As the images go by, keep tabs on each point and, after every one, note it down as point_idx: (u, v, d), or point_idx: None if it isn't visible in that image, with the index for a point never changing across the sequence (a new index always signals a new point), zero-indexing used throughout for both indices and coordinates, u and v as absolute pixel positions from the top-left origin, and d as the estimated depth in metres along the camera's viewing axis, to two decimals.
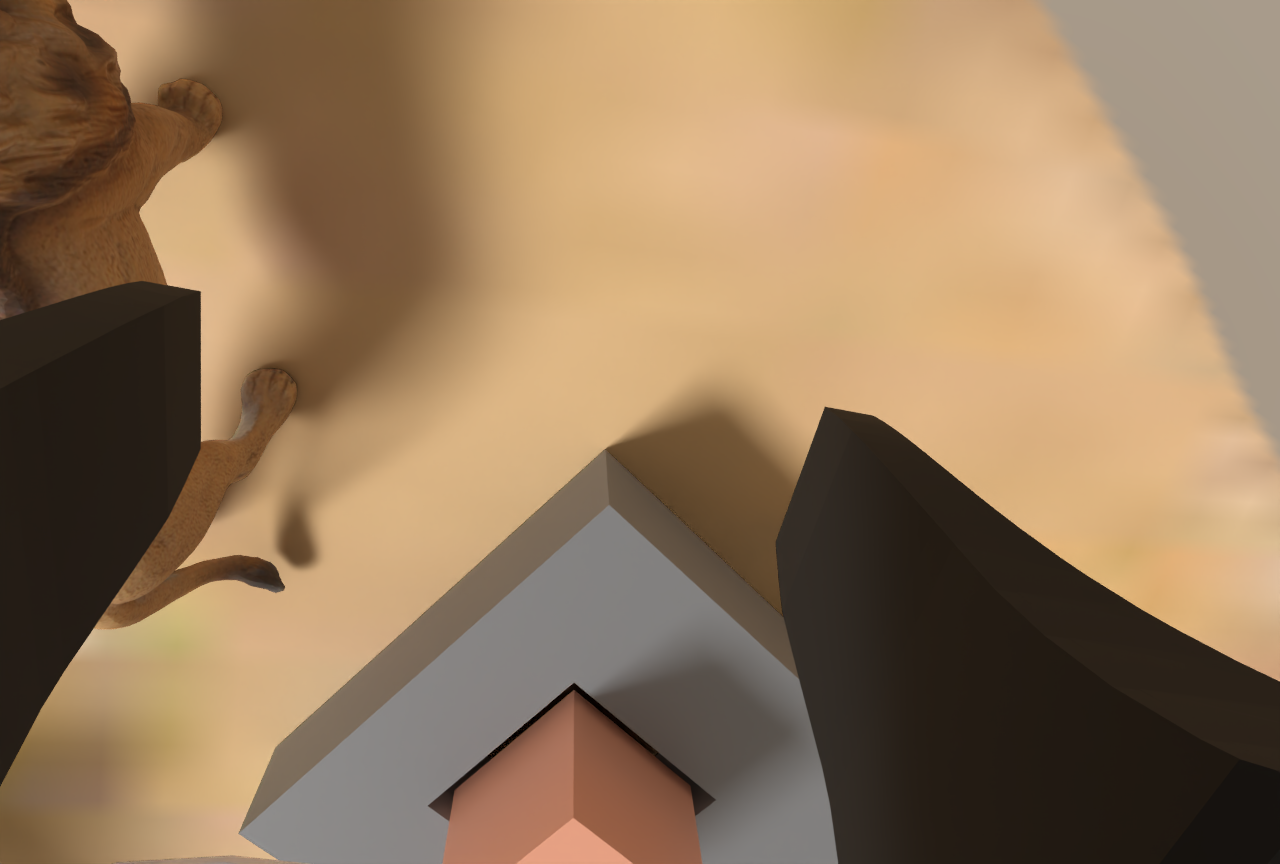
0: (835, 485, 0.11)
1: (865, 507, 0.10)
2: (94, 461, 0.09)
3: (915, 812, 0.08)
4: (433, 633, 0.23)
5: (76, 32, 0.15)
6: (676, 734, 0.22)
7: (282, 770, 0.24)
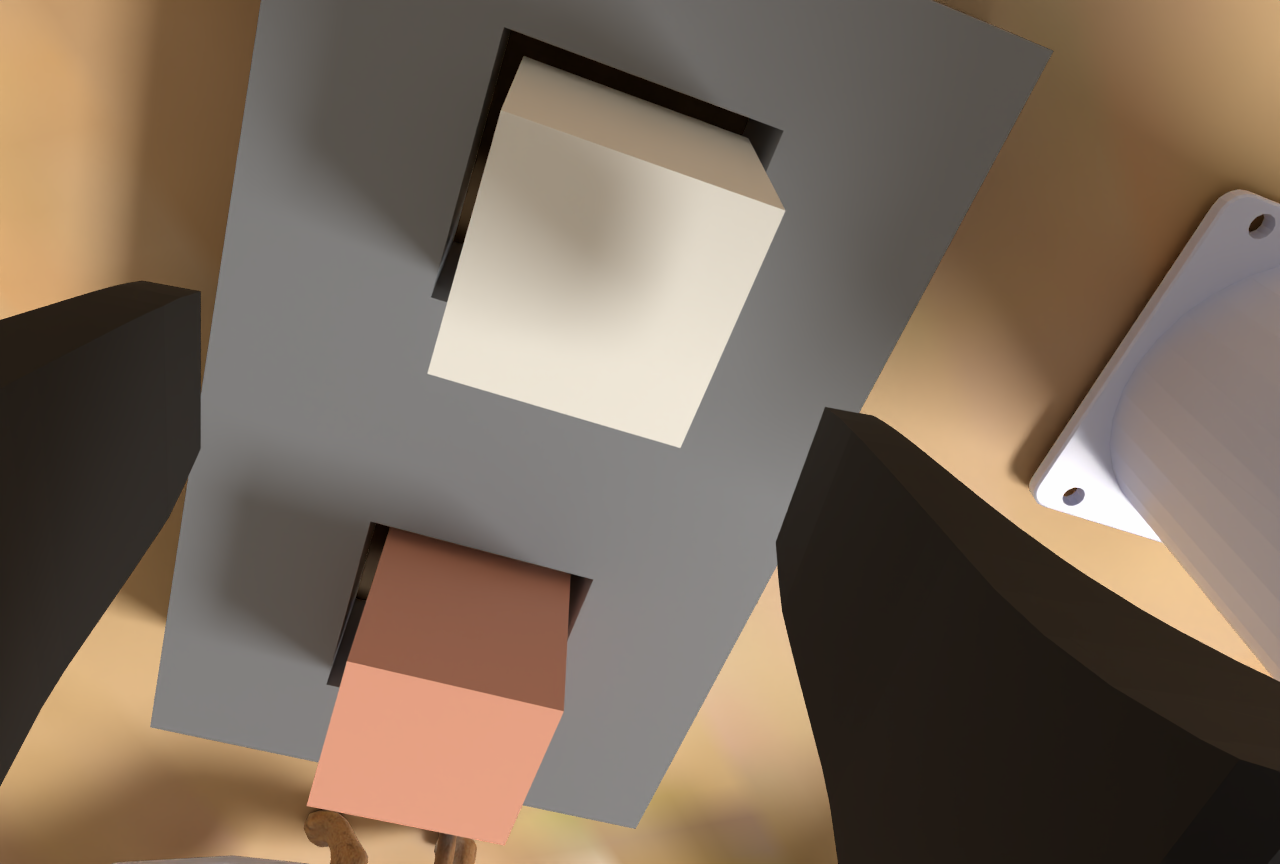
0: (835, 485, 0.11)
1: (865, 507, 0.10)
2: (95, 462, 0.09)
3: (915, 813, 0.08)
4: None
5: None
6: (320, 589, 0.21)
7: None
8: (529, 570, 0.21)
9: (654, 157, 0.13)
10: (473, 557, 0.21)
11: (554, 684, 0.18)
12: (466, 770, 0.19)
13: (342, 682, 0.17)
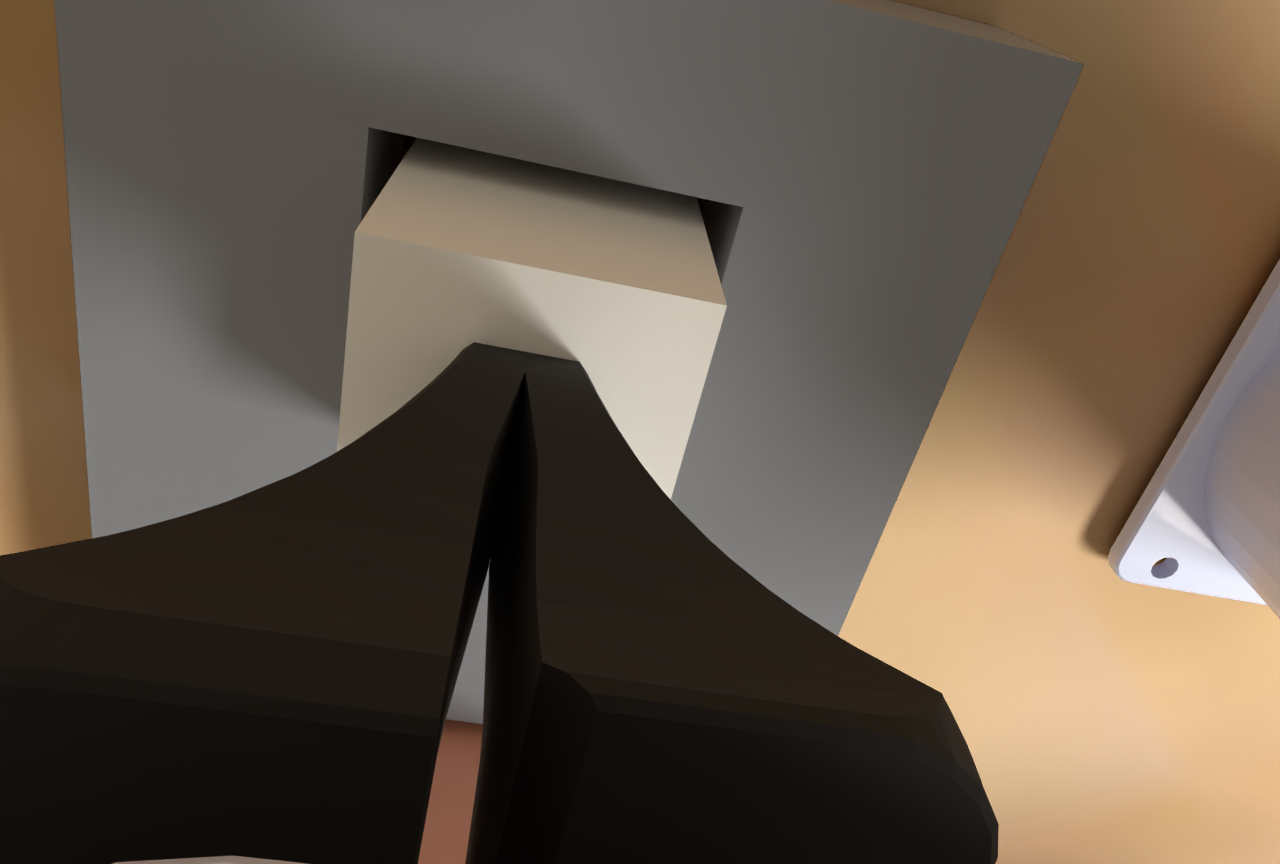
0: (515, 430, 0.10)
1: (520, 449, 0.09)
2: (486, 524, 0.09)
3: (489, 760, 0.07)
4: None
5: None
6: None
7: None
8: None
9: (558, 259, 0.11)
10: (448, 726, 0.18)
11: None
12: None
13: None
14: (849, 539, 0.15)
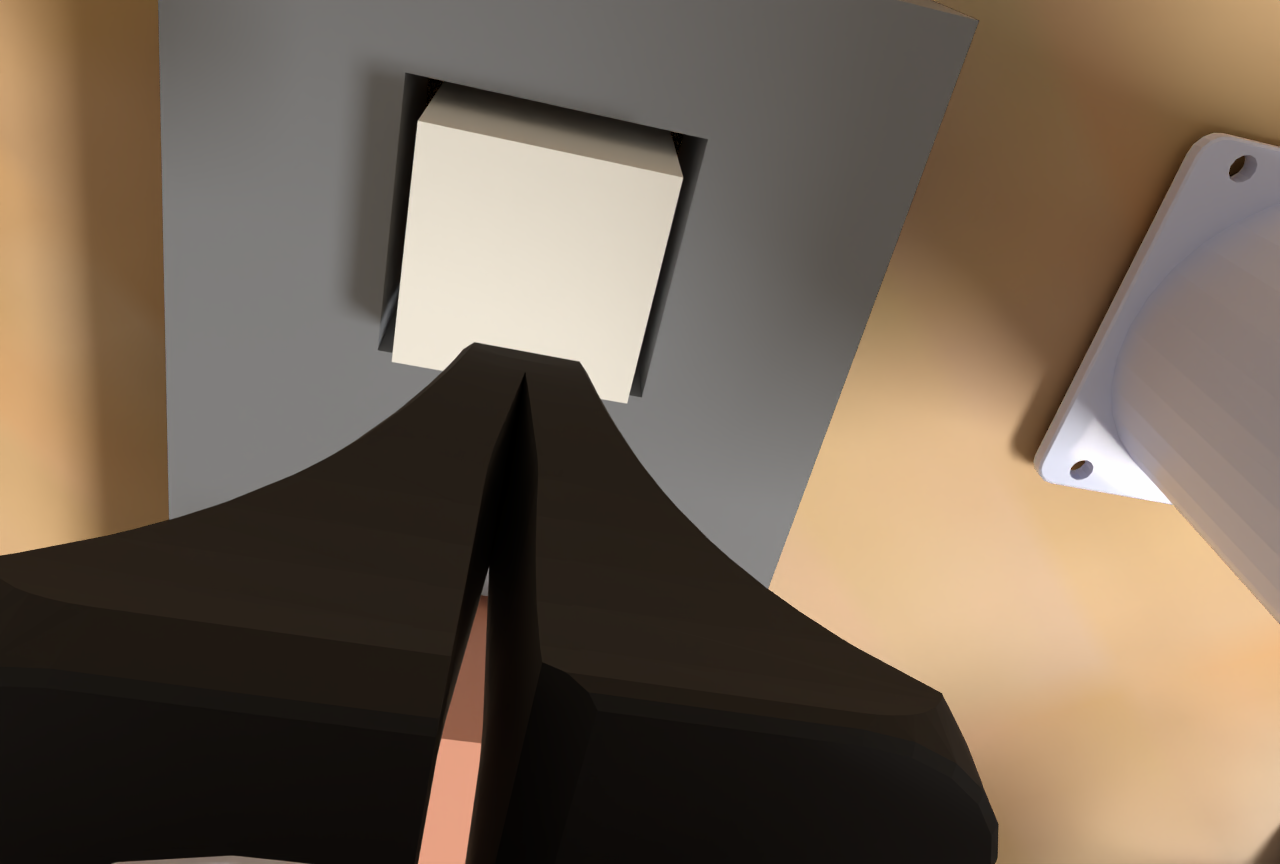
0: (515, 430, 0.10)
1: (520, 448, 0.09)
2: (487, 524, 0.09)
3: (488, 760, 0.07)
4: None
5: None
6: None
7: None
8: None
9: (561, 145, 0.15)
10: None
11: None
12: None
13: None
14: (802, 428, 0.18)
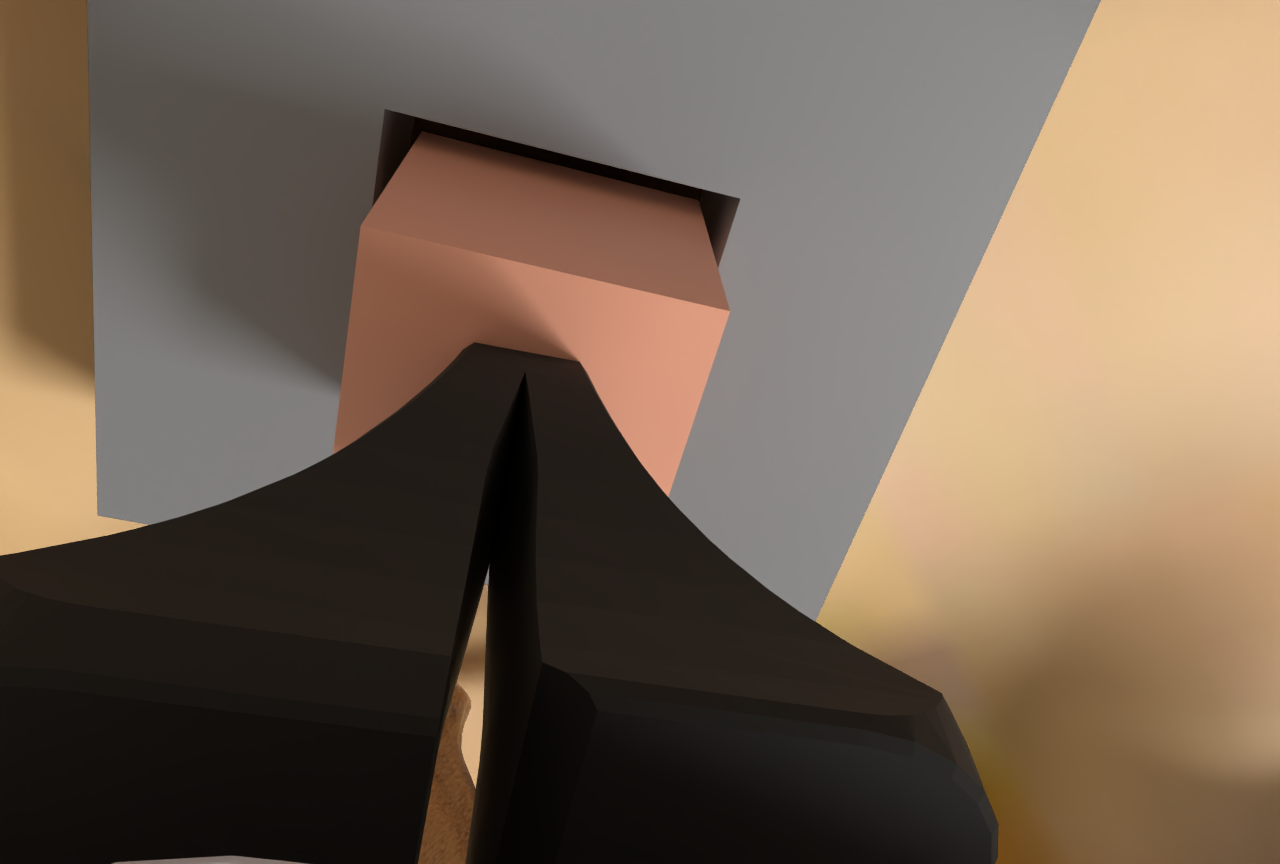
0: (515, 430, 0.10)
1: (520, 448, 0.09)
2: (486, 524, 0.09)
3: (489, 760, 0.07)
4: None
5: None
6: (318, 249, 0.13)
7: None
8: (637, 190, 0.14)
9: None
10: (552, 169, 0.14)
11: (706, 285, 0.11)
12: None
13: (357, 273, 0.10)
14: None
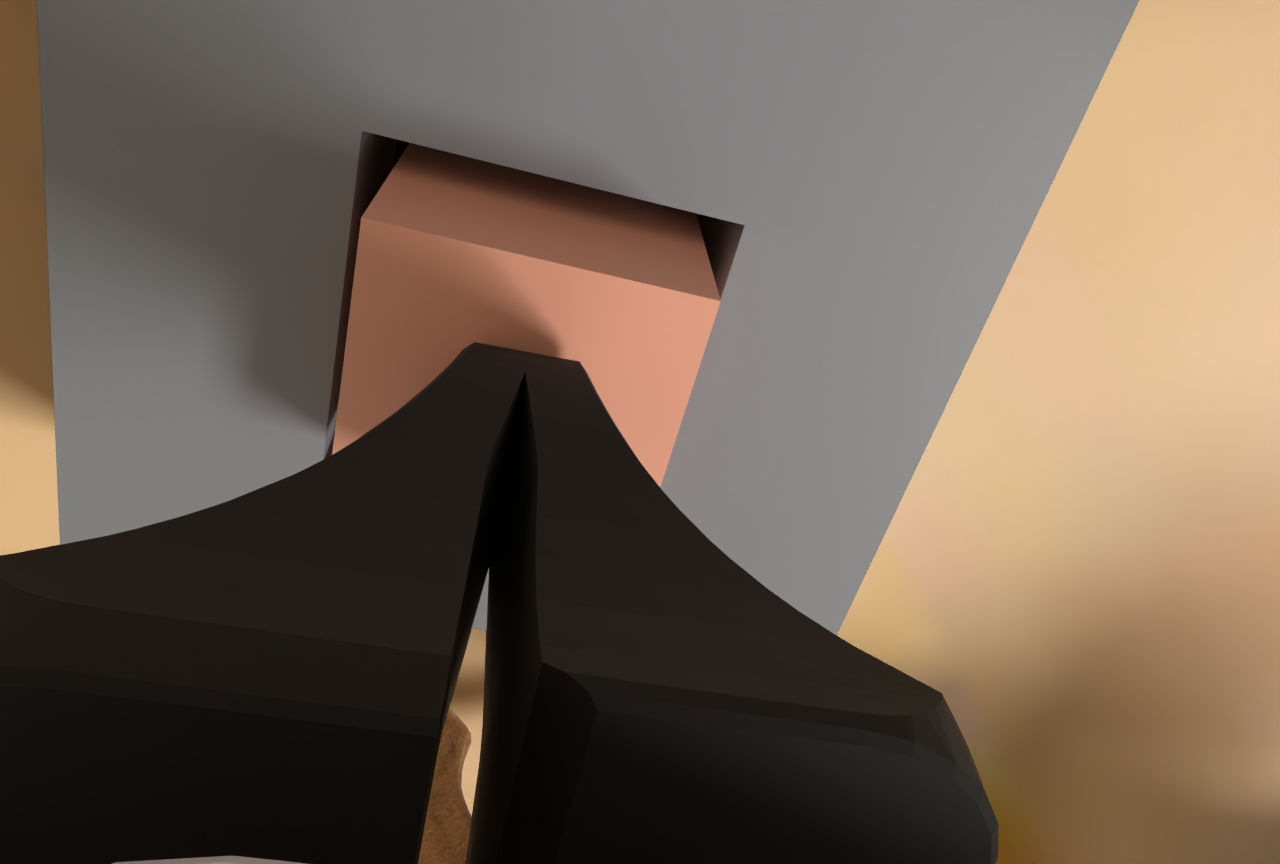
0: (515, 430, 0.10)
1: (520, 448, 0.09)
2: (486, 523, 0.09)
3: (489, 759, 0.07)
4: None
5: None
6: (292, 280, 0.12)
7: None
8: None
9: None
10: None
11: (698, 276, 0.11)
12: None
13: (357, 264, 0.11)
14: None
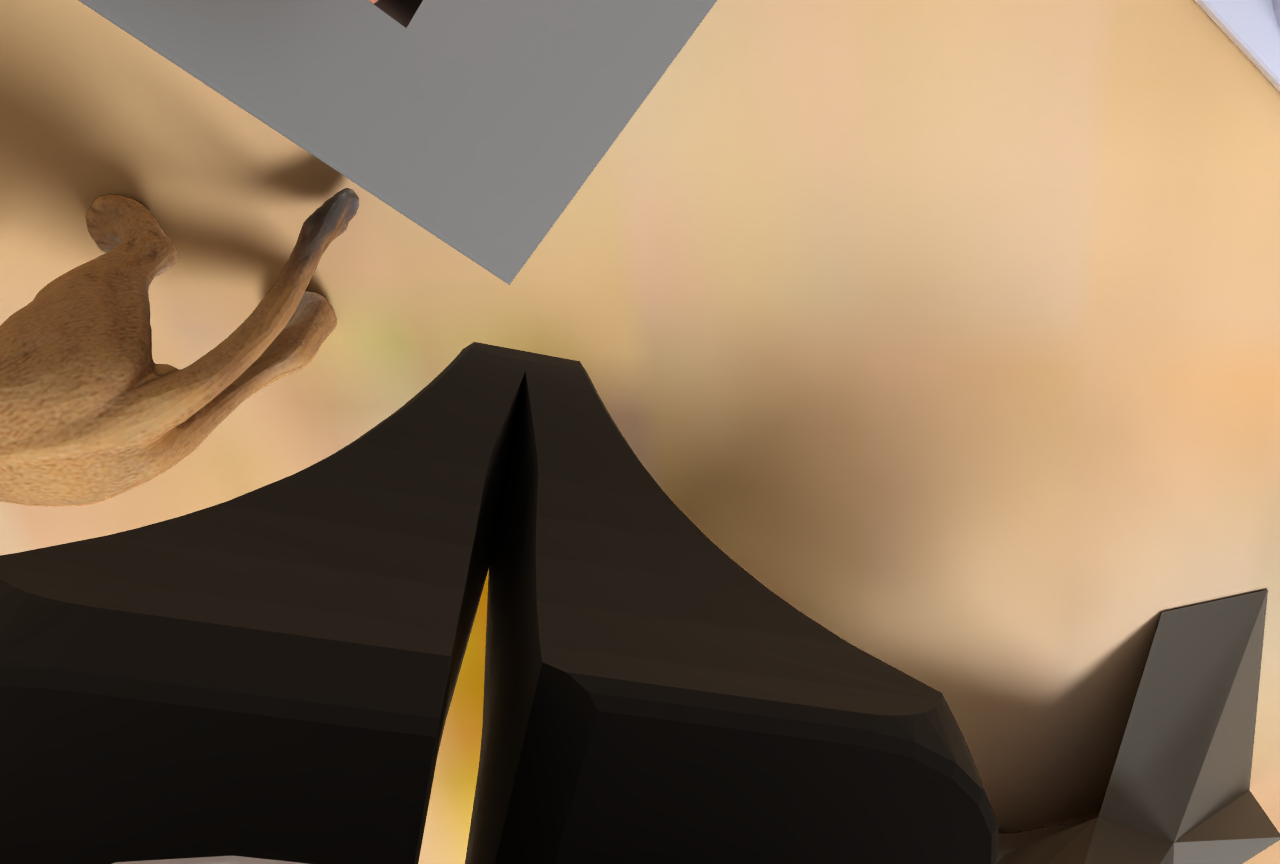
0: (515, 430, 0.10)
1: (520, 448, 0.09)
2: (487, 523, 0.09)
3: (489, 760, 0.07)
4: None
5: None
6: None
7: None
8: None
9: None
10: None
11: None
12: None
13: None
14: None
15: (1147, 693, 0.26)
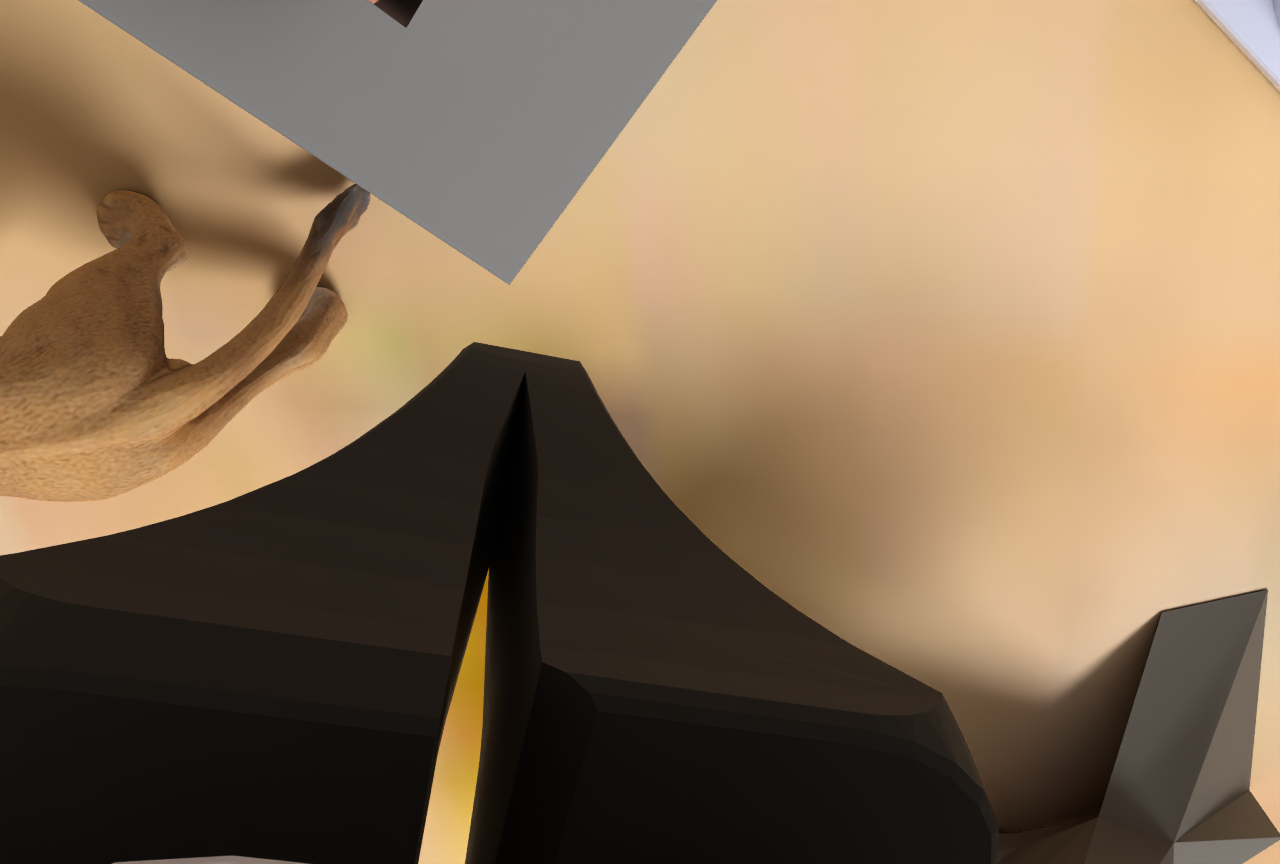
0: (515, 430, 0.10)
1: (520, 448, 0.09)
2: (487, 523, 0.09)
3: (489, 760, 0.07)
4: None
5: None
6: None
7: None
8: None
9: None
10: None
11: None
12: None
13: None
14: None
15: (1147, 693, 0.26)
